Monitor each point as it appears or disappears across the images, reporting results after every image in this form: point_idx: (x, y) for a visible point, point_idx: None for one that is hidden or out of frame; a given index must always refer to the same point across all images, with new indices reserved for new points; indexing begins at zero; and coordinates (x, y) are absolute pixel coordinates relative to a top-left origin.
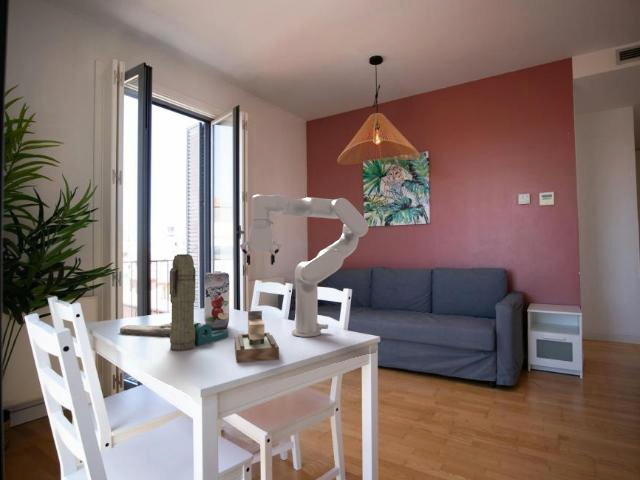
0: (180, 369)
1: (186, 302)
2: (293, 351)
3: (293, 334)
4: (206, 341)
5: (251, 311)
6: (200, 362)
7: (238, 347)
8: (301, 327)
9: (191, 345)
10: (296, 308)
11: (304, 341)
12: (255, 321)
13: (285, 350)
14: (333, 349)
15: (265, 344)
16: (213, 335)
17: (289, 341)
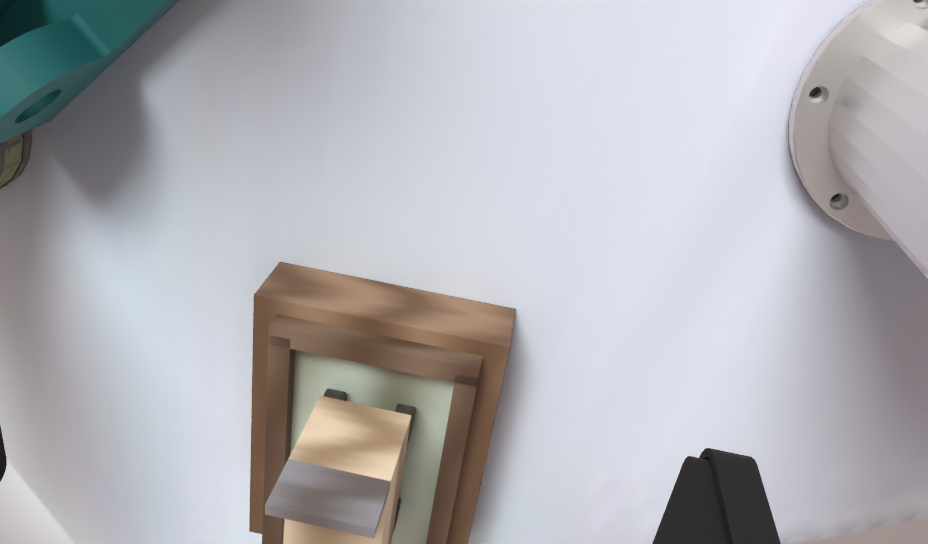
0: (43, 465)
1: None
2: (588, 462)
3: (789, 123)
4: (86, 81)
5: (291, 519)
6: (111, 420)
7: (261, 498)
8: (859, 199)
9: (6, 179)
10: (914, 198)
11: (765, 314)
12: (329, 536)
13: (554, 430)
14: (817, 524)
15: (404, 521)
16: (114, 9)
17: (666, 270)
